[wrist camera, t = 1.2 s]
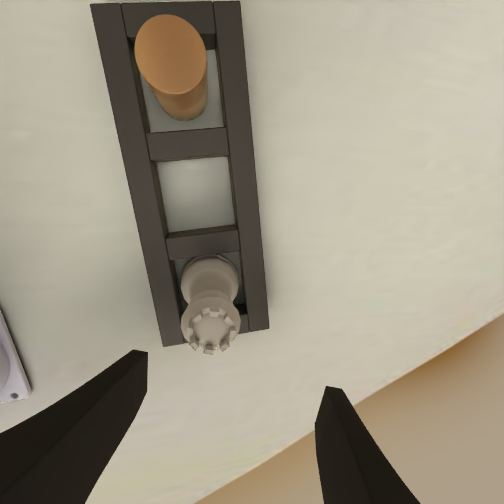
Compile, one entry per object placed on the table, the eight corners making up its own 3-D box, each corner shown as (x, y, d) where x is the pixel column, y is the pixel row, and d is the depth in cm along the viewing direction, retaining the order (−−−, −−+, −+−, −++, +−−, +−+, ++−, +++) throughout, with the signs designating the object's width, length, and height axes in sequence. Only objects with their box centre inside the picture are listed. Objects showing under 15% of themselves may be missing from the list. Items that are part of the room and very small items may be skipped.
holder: (166, 333, 22) (162, 347, 20) (102, 23, 17) (89, 3, 15) (264, 316, 23) (269, 329, 21) (236, 19, 18) (240, -1, 16)
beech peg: (162, 122, 18) (142, 96, 13) (153, 68, 18) (126, 14, 12) (210, 118, 19) (211, 92, 13) (203, 65, 18) (201, 12, 12)
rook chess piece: (191, 244, 21) (181, 282, 13) (245, 261, 22) (266, 306, 14) (174, 296, 22) (155, 361, 14) (227, 310, 23) (237, 377, 15)
